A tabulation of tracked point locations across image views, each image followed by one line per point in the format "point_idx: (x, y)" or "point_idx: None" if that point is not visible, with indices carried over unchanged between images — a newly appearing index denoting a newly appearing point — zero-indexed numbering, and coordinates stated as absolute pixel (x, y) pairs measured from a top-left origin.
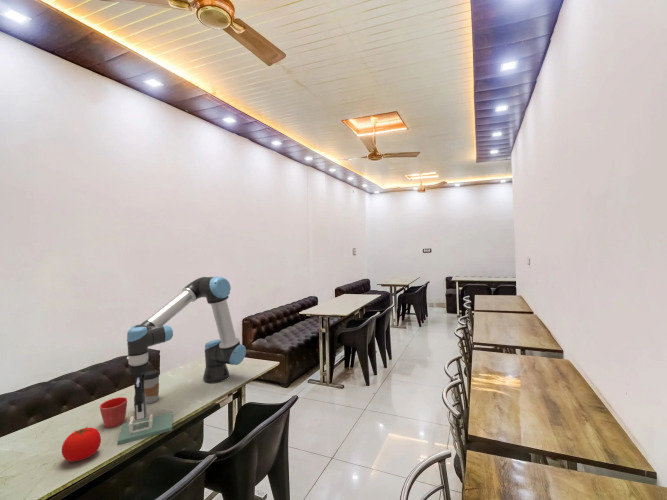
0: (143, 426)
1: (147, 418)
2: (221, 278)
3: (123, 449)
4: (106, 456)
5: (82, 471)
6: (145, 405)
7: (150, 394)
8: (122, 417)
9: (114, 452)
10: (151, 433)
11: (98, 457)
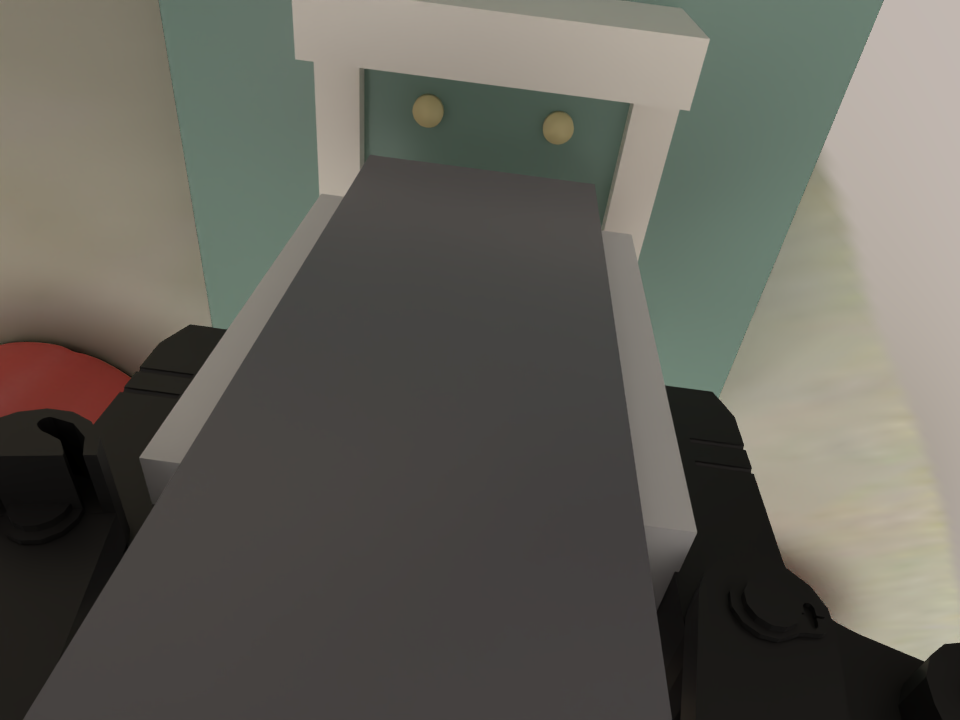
0: (491, 152)
1: (189, 67)
2: None
3: (873, 377)
4: (857, 500)
5: (936, 620)
6: (497, 332)
7: None
8: (83, 416)
9: (847, 447)
10: (859, 27)
11: (803, 544)
